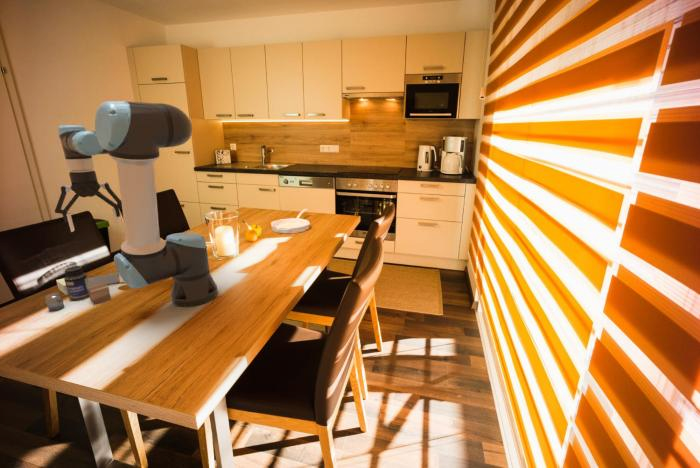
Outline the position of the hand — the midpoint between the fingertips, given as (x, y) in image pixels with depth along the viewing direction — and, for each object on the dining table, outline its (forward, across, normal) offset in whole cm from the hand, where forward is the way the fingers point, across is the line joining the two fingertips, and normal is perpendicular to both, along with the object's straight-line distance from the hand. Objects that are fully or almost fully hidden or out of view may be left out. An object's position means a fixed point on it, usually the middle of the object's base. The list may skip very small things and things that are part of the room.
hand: (95, 228), depth 126 cm
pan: (+22, -95, -37) cm, 104 cm away
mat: (+22, +2, -1) cm, 22 cm away
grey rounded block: (+22, +14, +17) cm, 31 cm away
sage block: (+22, +12, +2) cm, 25 cm away
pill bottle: (+22, +8, +10) cm, 26 cm away
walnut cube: (+22, +1, +17) cm, 28 cm away
